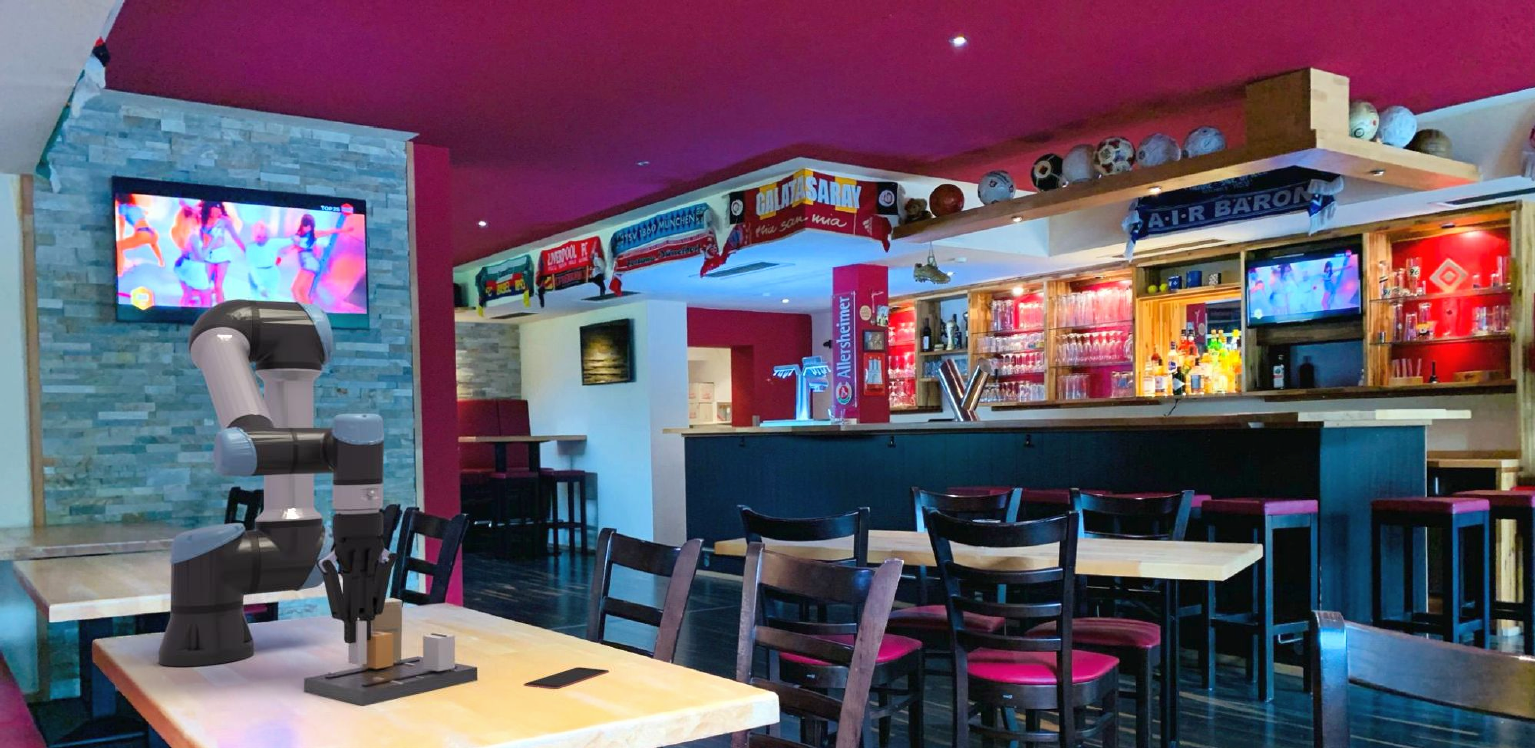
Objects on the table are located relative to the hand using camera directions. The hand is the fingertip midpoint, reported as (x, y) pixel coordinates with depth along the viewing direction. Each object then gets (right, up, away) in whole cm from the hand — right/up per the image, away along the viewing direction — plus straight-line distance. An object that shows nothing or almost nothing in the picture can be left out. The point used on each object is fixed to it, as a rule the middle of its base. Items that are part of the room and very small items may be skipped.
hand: (357, 662), depth 172 cm
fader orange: (+2, -1, +3) cm, 4 cm away
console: (+6, -3, -1) cm, 7 cm away
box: (-1, -5, +15) cm, 15 cm away
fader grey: (+13, -1, 0) cm, 13 cm away
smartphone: (+33, -4, +2) cm, 33 cm away
